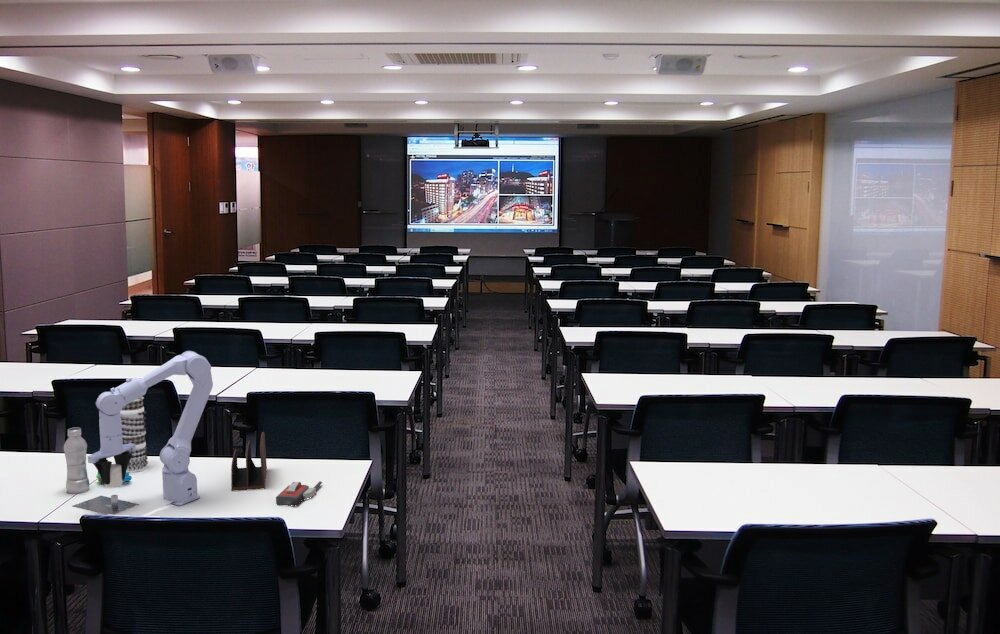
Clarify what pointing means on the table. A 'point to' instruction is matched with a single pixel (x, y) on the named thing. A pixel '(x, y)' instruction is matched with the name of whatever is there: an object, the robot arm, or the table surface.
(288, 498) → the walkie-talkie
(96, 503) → the flat rectangular plate
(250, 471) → the letter holder
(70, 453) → the plastic bottle
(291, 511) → the table surface
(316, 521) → the table surface
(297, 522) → the table surface
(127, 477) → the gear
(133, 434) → the decorative candle
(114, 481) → the knob
